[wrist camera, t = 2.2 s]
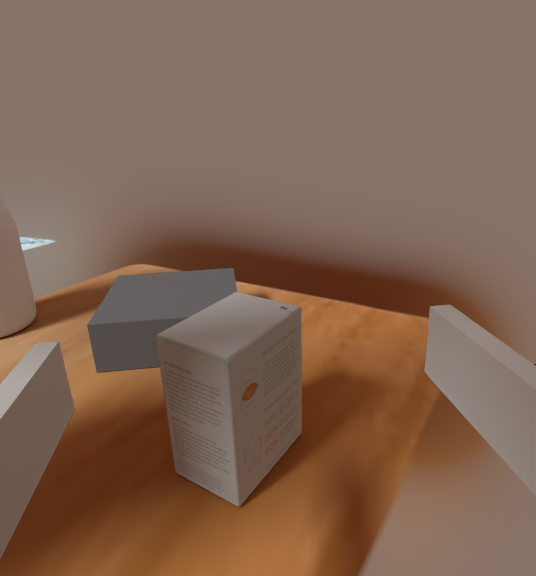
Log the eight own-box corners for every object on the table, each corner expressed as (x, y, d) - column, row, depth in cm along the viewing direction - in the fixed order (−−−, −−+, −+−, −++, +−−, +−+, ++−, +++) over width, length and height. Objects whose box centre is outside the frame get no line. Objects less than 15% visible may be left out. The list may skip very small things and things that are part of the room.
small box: (243, 410, 35) (236, 289, 31) (304, 434, 32) (303, 304, 28) (172, 474, 29) (151, 332, 25) (239, 512, 26) (227, 357, 22)
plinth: (96, 372, 41) (87, 325, 39) (124, 313, 54) (118, 275, 52) (243, 359, 42) (240, 312, 41) (235, 304, 55) (233, 268, 54)
